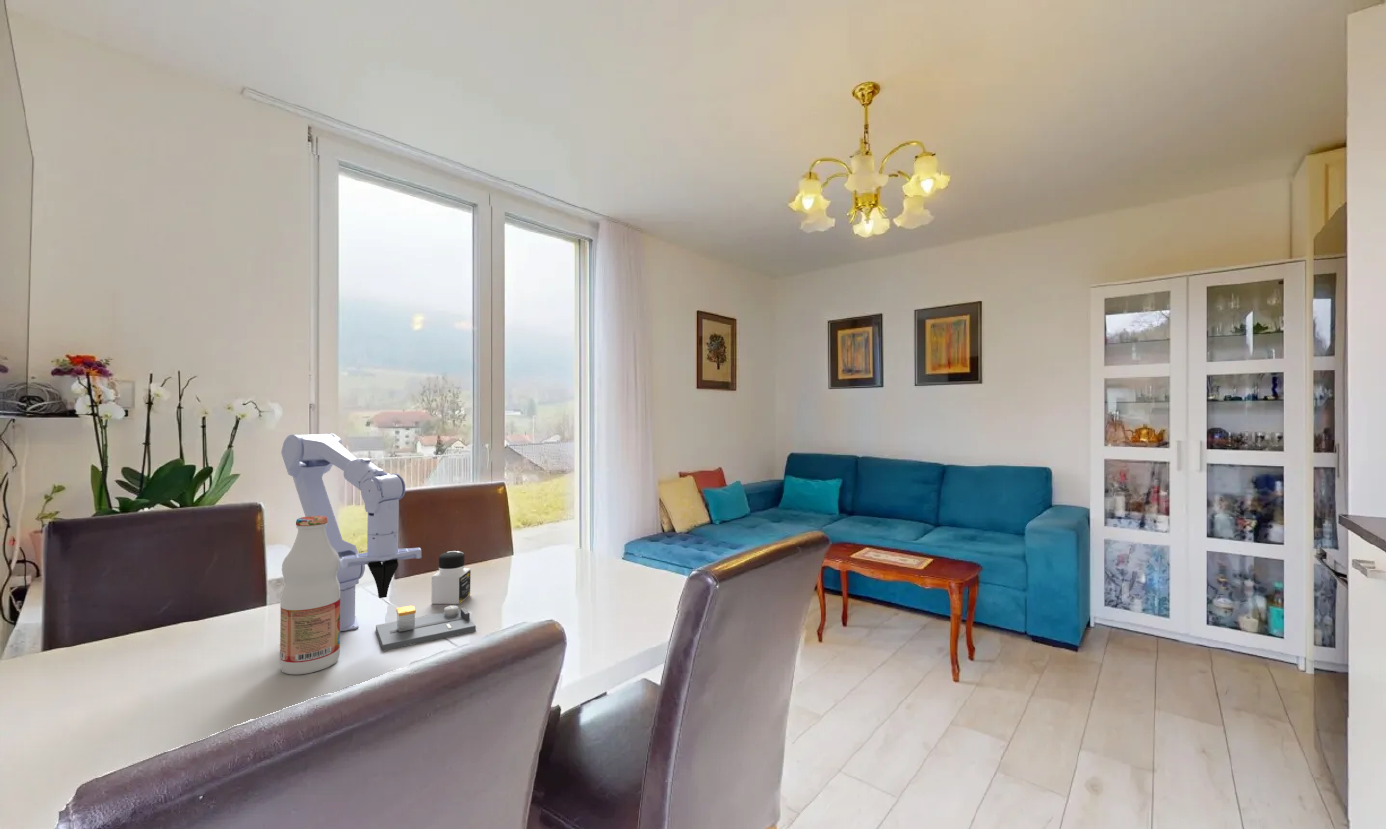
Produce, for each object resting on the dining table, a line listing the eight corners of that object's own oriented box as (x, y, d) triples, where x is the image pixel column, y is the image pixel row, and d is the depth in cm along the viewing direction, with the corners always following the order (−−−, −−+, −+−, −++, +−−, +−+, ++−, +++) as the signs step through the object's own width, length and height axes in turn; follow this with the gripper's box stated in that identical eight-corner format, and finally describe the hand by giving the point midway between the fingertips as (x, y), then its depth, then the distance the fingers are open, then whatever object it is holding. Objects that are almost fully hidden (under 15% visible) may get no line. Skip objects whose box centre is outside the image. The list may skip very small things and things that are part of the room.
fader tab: (398, 632, 117) (398, 613, 117) (396, 626, 120) (396, 608, 120) (415, 629, 119) (415, 610, 119) (412, 623, 122) (412, 605, 122)
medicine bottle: (459, 604, 138) (460, 556, 138) (430, 604, 138) (431, 556, 138) (470, 595, 145) (471, 549, 145) (443, 594, 145) (443, 549, 145)
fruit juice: (266, 671, 102) (268, 520, 102) (314, 650, 111) (315, 511, 111) (306, 679, 100) (308, 524, 99) (351, 656, 109) (353, 515, 108)
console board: (382, 650, 112) (383, 636, 112) (375, 630, 122) (376, 617, 121) (475, 631, 122) (475, 617, 122) (462, 614, 132) (462, 601, 132)
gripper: (343, 540, 109) (343, 609, 109) (424, 531, 118) (423, 595, 118) (341, 533, 115) (340, 598, 115) (418, 525, 123) (417, 586, 124)
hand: (382, 596), depth 117 cm, fingers closed
